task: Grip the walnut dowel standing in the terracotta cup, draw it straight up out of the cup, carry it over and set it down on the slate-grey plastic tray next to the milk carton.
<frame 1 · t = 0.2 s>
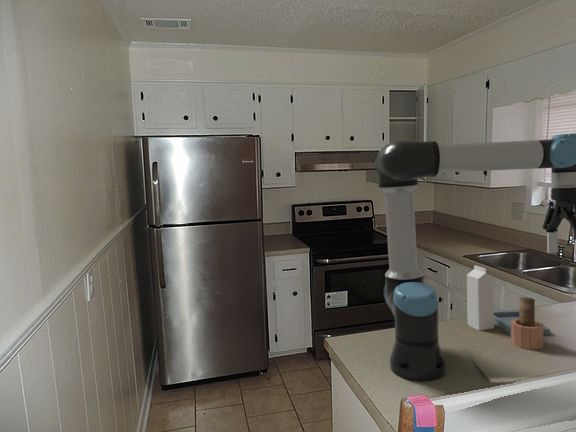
hand: (565, 257, 122), 27 cm above the countertop, fingers open, 13 cm apart
dowel: (527, 343, 125), point 1 cm above the countertop, touching cup
tray: (516, 327, 139), on the countertop
milk: (480, 329, 140), on the countertop
cup: (527, 346, 125), on the countertop
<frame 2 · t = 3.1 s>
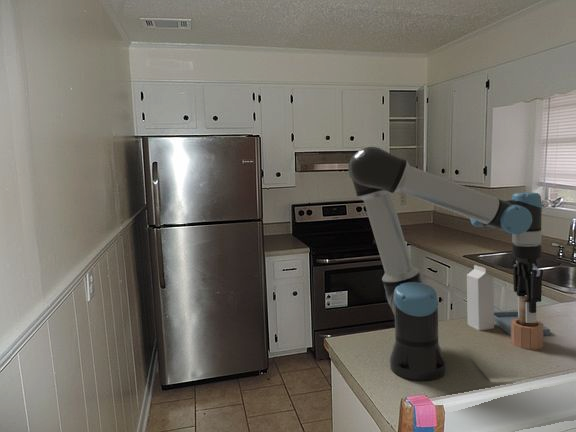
hand: (526, 319, 124), 9 cm above the countertop, fingers closed on dowel, 4 cm apart
dowel: (527, 343, 125), point 1 cm above the countertop, touching cup, gripper
everything else where it was.
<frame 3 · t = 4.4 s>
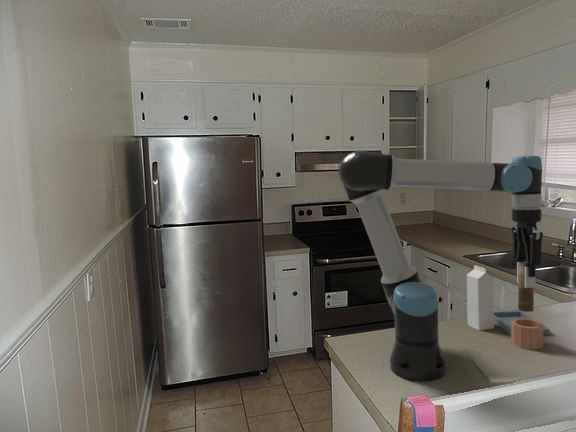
hand: (526, 284, 123), 19 cm above the countertop, fingers closed on dowel, 4 cm apart
dowel: (525, 309, 123), point 12 cm above the countertop, touching gripper
everything else where it was.
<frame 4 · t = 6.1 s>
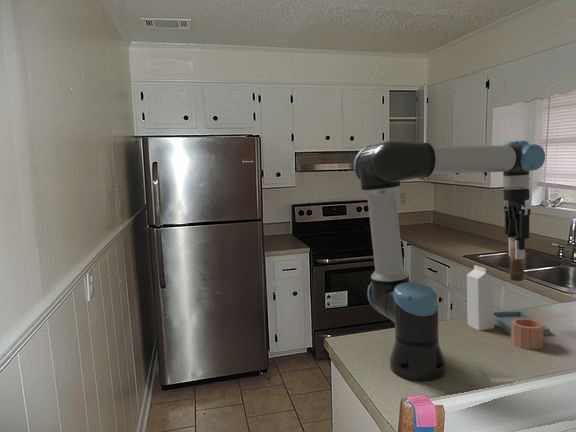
hand: (516, 257, 137), 25 cm above the countertop, fingers closed on dowel, 4 cm apart
dowel: (517, 279, 137), point 17 cm above the countertop, touching gripper
everything else where it was.
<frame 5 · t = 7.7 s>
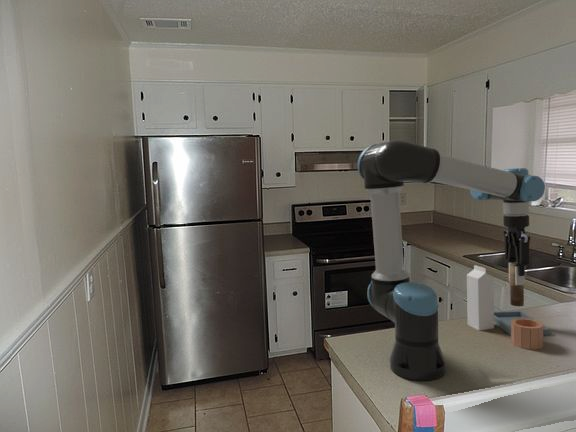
hand: (516, 282, 138), 16 cm above the countertop, fingers closed on dowel, 4 cm apart
dowel: (517, 304, 138), point 8 cm above the countertop, touching gripper
everything else where it was.
when the fingers open (9 cm above the countertop, at t = 9.2 s): dowel stays where it is, resting on tray.
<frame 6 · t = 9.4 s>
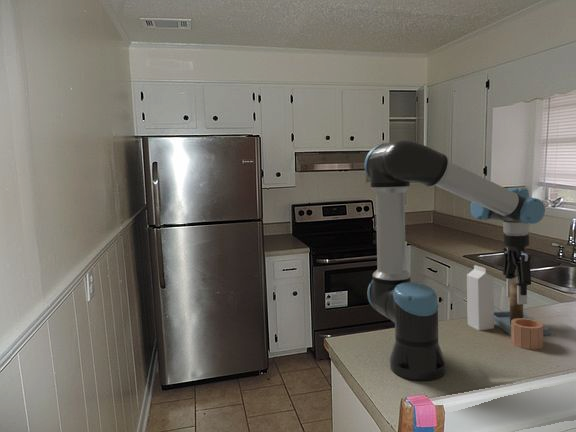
hand: (516, 300, 138), 10 cm above the countertop, fingers open, 7 cm apart
dowel: (516, 324, 139), point 1 cm above the countertop, touching tray
everything else where it was.
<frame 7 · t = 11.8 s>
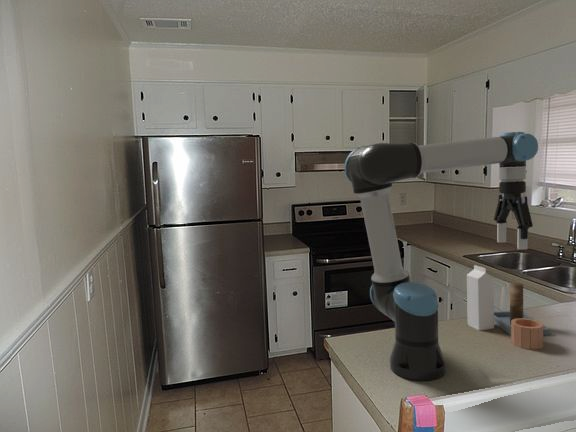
hand: (511, 245, 133), 29 cm above the countertop, fingers open, 13 cm apart
nothing on the countertop moved.
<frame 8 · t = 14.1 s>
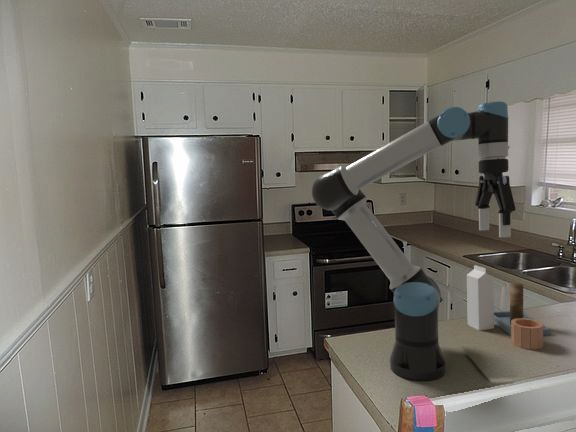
hand: (494, 233, 116), 37 cm above the countertop, fingers open, 13 cm apart
nothing on the countertop moved.
at the end: dowel inside the target area on the tray (0.0 cm from its centre), point 1.2 cm above the tray's base; the gripper is holding nothing; dowel touching tray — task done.
